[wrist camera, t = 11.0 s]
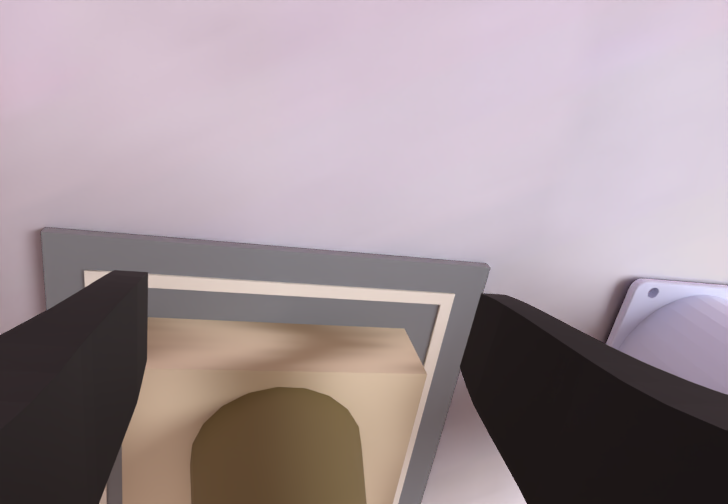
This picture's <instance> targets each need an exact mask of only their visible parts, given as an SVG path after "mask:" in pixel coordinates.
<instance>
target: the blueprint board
mask: <svg viewBox="0 0 728 504" xmlns="http://www.w3.org/2000/svg"><path fill="white" fill-rule="evenodd" d="M41 243H42V256H43V270H44V284H45V297H46V310H48V309H50V308H52V307H53V306H55V305H57V304H58V303H60V302H62V301H63V300H65V299H67V298H68V297H70V296H72V295H73V294H75V293H77V292H78V291H80V290H81V289H83V288H85V287H86V286H88V285H90V284H91V283H93V282H94V281H96V280H98V279H99V278H101V277H103V276H104V275H106V274H108V273H110V272H112V271H114V270H122V271H138V272H148V317H155V318H177V319H200V320H222V321H245V322H267V323H290V324H313V325H335V326H358V327H380V328H403V329H405V331H406V333H407V335H408V337H409V339H410V341H411V343H412V345H413V347H414V349H415V351H416V353H417V355H418V357H419V359H420V361H421V363H422V365H423V367H424V369H425V371H426V373H427V377H426V381H425V384H424V388H423V392H422V396H421V399H420V403H419V407H418V411H417V414H416V418H415V422H414V426H413V430H412V433H411V437H410V441H409V445H408V448H407V452H406V456H405V460H404V463H403V467H402V471H401V475H400V478H399V482H398V486H397V490H396V493H395V497H394V501H393V504H421V501H422V498H423V494H424V491H425V488H426V484H427V481H428V477H429V474H430V471H431V467H432V464H433V461H434V457H435V454H436V450H437V447H438V444H439V440H440V437H441V433H442V430H443V427H444V423H445V420H446V416H447V413H448V410H449V406H450V403H451V400H452V396H453V393H454V389H455V386H456V383H457V379H458V376H459V372H460V364H461V361H462V357H463V354H464V350H465V347H466V344H467V340H468V337H469V333H470V330H471V326H472V323H473V320H474V316H475V313H476V309H477V306H478V302H479V299H480V296H481V293H483V291H484V288H485V284H486V281H487V278H488V274H489V271H490V267H489V266H488V265H487V264H486V263H475V262H463V261H451V260H439V259H426V258H414V257H402V256H390V255H378V254H365V253H353V252H341V251H329V250H316V249H304V248H292V247H280V246H268V245H255V244H243V243H231V242H219V241H207V240H194V239H182V238H170V237H158V236H146V235H133V234H121V233H109V232H97V231H85V230H72V229H60V228H48V227H45V228H44V229H43V230H42V231H41ZM99 504H122V445H121V447H120V450H119V453H118V455H117V458H116V460H115V463H114V466H113V468H112V471H111V473H110V476H109V479H108V481H107V484H106V487H105V489H104V492H103V494H102V497H101V500H100V502H99Z"/></svg>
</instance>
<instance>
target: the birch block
mask: <svg viewBox="0 0 728 504" xmlns="http://www.w3.org/2000/svg"><path fill="white" fill-rule="evenodd" d="M426 377H427V373H426V371H425V369H424V367H423V365H422V363H421V361H420V359H419V357H418V355H417V353H416V351H415V349H414V347H413V345H412V343H411V341H410V339H409V337H408V335H407V333H406V331H405V329H403V328H380V327H358V326H335V325H313V324H290V323H267V322H245V321H222V320H200V319H177V318H155V317H148V331H147V362H146V367H145V371H144V376H143V380H142V385H141V389H140V393H139V397H138V401H137V405H136V407H135V410H134V413H133V415H132V418H131V421H130V423H129V426H128V429H127V431H126V434H125V437H124V439H123V442H122V504H191V480H190V461H191V451H192V444H193V442H194V440H195V438H196V436H197V434H198V433H199V431H200V429H201V427H202V425H203V424H204V423H205V422H206V421H207V420H208V419H209V418H210V417H211V416H212V415H213V414H214V413H216V412H217V411H218V410H219V409H220V408H221V407H222V406H223V405H225V404H227V403H230V402H232V401H234V400H236V399H238V398H240V397H242V396H244V395H246V394H248V393H251V392H256V391H260V390H265V389H270V388H274V387H292V388H307V389H310V390H313V391H316V392H319V393H322V394H325V395H328V396H330V397H332V398H333V399H334V400H336V401H337V402H339V403H340V404H341V405H343V406H344V407H345V408H347V409H348V410H349V412H350V413H351V415H352V417H353V418H354V420H355V421H356V423H357V425H358V426H359V432H360V439H361V446H362V457H363V468H364V480H365V491H366V503H367V504H393V501H394V497H395V493H396V490H397V486H398V482H399V478H400V475H401V471H402V467H403V463H404V460H405V456H406V452H407V448H408V445H409V441H410V437H411V433H412V430H413V426H414V422H415V418H416V414H417V411H418V407H419V403H420V399H421V396H422V392H423V388H424V384H425V381H426Z"/></svg>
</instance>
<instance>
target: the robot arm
mask: <svg viewBox="0 0 728 504" xmlns="http://www.w3.org/2000/svg"><path fill="white" fill-rule="evenodd" d="M651 289H652V290H651ZM650 290H651V291H650ZM649 291H650V292H649ZM648 292H649V293H648ZM147 331H148V272H138V271H122V270H114V271H112V272H110V273H108V274H106V275H104V276H103V277H101V278H99V279H98V280H96V281H94V282H93V283H91V284H90V285H88V286H86V287H85V288H83V289H81V290H80V291H78V292H77V293H75V294H73V295H72V296H70V297H68V298H67V299H65V300H63V301H62V302H60V303H58V304H57V305H55V306H53V307H52V308H50V309H48V310H46V311H45V312H43V313H41V314H39V315H37V316H35V317H33V318H31V319H30V320H28V321H26V322H24V323H22V324H20V325H18V326H16V327H15V328H13V329H11V330H9V331H7V332H5V333H3V334H1V335H0V504H99V502H100V500H101V497H102V494H103V492H104V489H105V487H106V484H107V481H108V479H109V476H110V473H111V471H112V468H113V466H114V463H115V460H116V458H117V455H118V453H119V450H120V447H121V445H122V442H123V439H124V437H125V434H126V431H127V429H128V426H129V423H130V421H131V418H132V415H133V413H134V410H135V407H136V405H137V401H138V397H139V393H140V389H141V385H142V380H143V376H144V371H145V367H146V362H147ZM460 369H461V372H462V375H463V378H464V381H465V384H466V386H467V389H468V392H469V394H470V397H471V399H472V402H473V404H474V406H475V408H476V410H477V412H478V414H479V416H480V418H481V420H482V421H483V423H484V425H485V427H486V429H487V431H488V433H489V434H490V436H491V438H492V440H493V442H494V443H495V445H496V447H497V449H498V451H499V452H500V454H501V456H502V458H503V460H504V461H505V463H506V465H507V467H508V469H509V471H510V472H511V474H512V476H513V478H514V480H515V481H516V483H517V485H518V487H519V489H520V491H521V493H522V495H523V497H524V499H525V501H526V503H527V504H728V285H718V284H706V283H693V282H681V281H668V280H656V279H643V278H642V279H638V280H636V281H634V282H633V283H632V284H631V285H630V287H629V289H628V292H627V294H626V297H625V299H624V301H623V304H622V306H621V309H620V311H619V313H618V316H617V318H616V321H615V323H614V325H613V328H612V330H611V333H610V335H609V337H608V340H607V342H606V344H604V343H602V342H600V341H598V340H597V339H595V338H593V337H591V336H589V335H587V334H585V333H583V332H581V331H579V330H577V329H575V328H573V327H571V326H570V325H568V324H566V323H564V322H562V321H560V320H558V319H556V318H554V317H552V316H550V315H549V314H547V313H545V312H543V311H541V310H539V309H537V308H535V307H533V306H531V305H529V304H527V303H524V302H522V301H520V300H518V299H515V298H513V297H510V296H507V295H499V294H484V293H481V296H480V299H479V302H478V306H477V309H476V313H475V316H474V320H473V323H472V326H471V330H470V333H469V337H468V340H467V344H466V347H465V350H464V354H463V357H462V361H461V364H460Z"/></svg>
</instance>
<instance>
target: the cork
mask: <svg viewBox="0 0 728 504" xmlns="http://www.w3.org/2000/svg"><path fill="white" fill-rule="evenodd" d="M190 480H191V504H367V503H366V491H365V480H364V468H363V457H362V446H361V439H360V432H359V426H358V425H357V423H356V421H355V420H354V418H353V417H352V415H351V413H350V412H349V410H348V409H347V408H345V407H344V406H343V405H341V404H340V403H339V402H337V401H336V400H334V399H333V398H332V397H330V396H328V395H325V394H322V393H319V392H316V391H313V390H310V389H307V388H292V387H274V388H270V389H265V390H260V391H256V392H251V393H248V394H246V395H244V396H242V397H240V398H238V399H236V400H234V401H232V402H230V403H227V404H225V405H223V406H222V407H221V408H220V409H219V410H218V411H217V412H216V413H214V414H213V415H212V416H211V417H210V418H209V419H208V420H207V421H206V422H205V423H204V424H203V425H202V427H201V429H200V431H199V433H198V434H197V436H196V438H195V440H194V442H193V444H192V451H191V461H190Z"/></svg>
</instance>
